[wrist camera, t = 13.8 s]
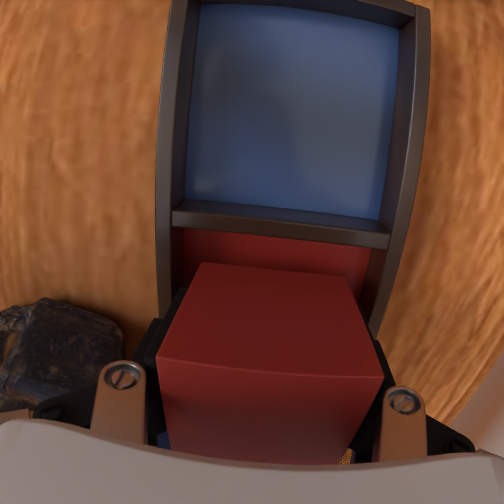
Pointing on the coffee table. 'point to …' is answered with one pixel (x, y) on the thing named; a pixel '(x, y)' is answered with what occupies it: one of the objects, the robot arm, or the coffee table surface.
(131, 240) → the coffee table surface
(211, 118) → the sorting tray
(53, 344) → the statue
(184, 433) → the red block
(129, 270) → the coffee table surface
